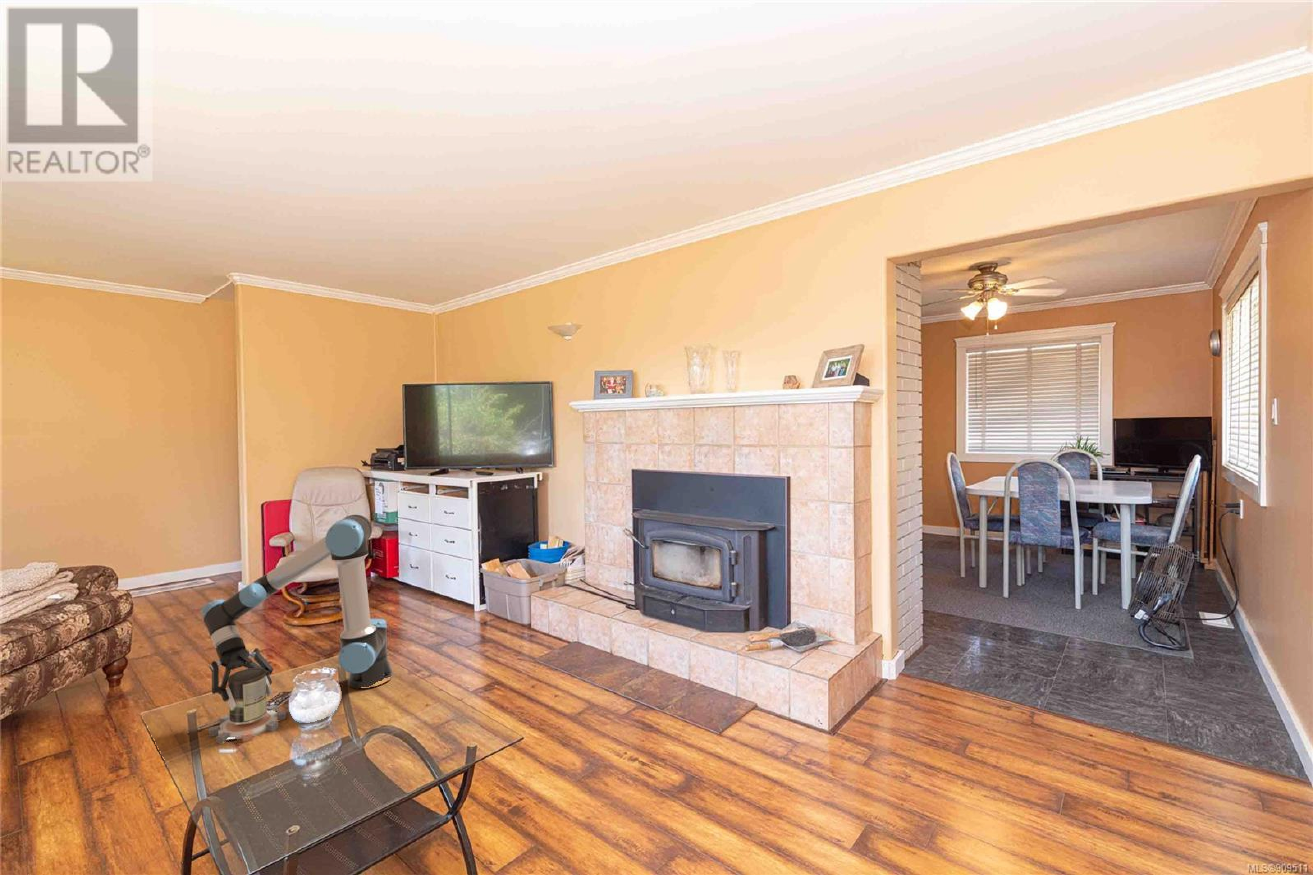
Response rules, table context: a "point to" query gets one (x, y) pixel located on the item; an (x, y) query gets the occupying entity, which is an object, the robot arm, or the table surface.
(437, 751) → the table surface
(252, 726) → the sprocket plate
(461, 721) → the table surface
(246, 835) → the table surface
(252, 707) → the coffee can
